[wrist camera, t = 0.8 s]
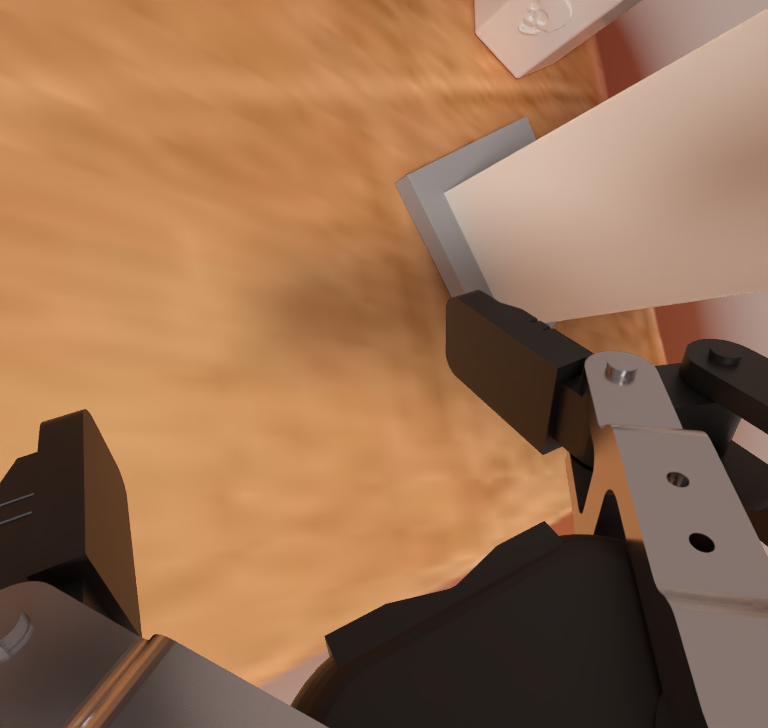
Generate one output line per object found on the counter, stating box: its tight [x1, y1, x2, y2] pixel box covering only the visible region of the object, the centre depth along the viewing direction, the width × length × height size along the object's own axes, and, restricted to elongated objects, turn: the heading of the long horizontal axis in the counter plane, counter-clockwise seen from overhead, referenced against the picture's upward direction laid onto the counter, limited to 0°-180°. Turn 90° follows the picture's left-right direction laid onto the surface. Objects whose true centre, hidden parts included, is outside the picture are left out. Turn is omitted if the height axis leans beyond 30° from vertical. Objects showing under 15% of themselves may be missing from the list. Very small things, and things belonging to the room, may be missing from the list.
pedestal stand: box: [395, 8, 768, 328], centre depth 21 cm, size 18×14×32 cm
